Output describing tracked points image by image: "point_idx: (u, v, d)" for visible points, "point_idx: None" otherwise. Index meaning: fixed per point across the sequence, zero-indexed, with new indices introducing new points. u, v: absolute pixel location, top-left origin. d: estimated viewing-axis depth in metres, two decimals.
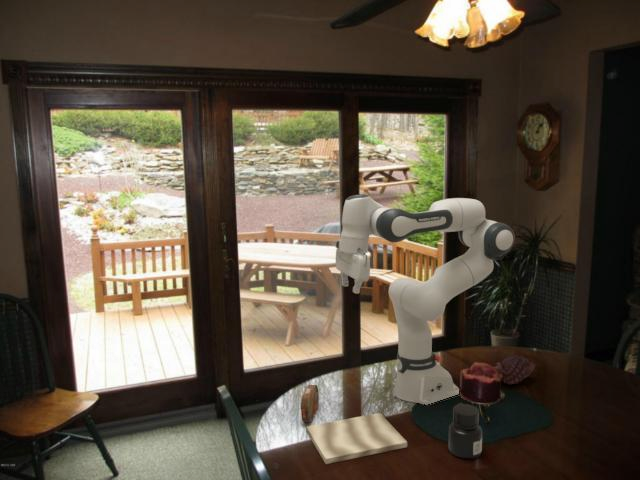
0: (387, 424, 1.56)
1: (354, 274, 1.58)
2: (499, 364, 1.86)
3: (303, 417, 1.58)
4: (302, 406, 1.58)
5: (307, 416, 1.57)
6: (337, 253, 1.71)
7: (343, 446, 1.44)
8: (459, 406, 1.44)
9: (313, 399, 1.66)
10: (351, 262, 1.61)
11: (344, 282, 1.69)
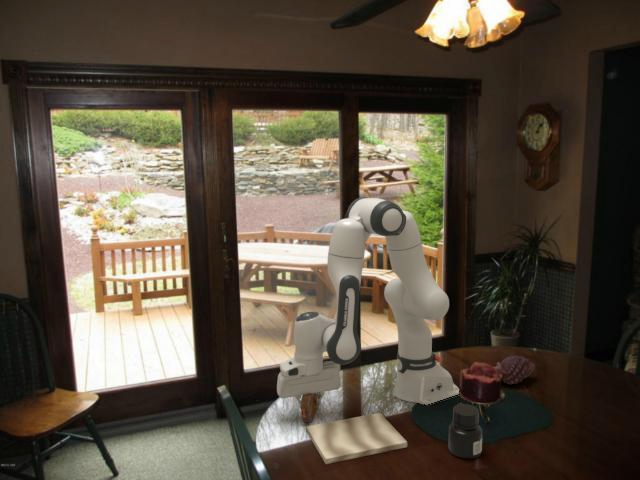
0: (387, 424, 1.56)
1: (330, 387, 1.64)
2: (499, 364, 1.85)
3: (303, 417, 1.58)
4: (302, 406, 1.58)
5: (307, 416, 1.57)
6: (286, 382, 1.59)
7: (343, 446, 1.44)
8: (459, 406, 1.44)
9: (313, 399, 1.66)
10: (319, 378, 1.63)
11: None
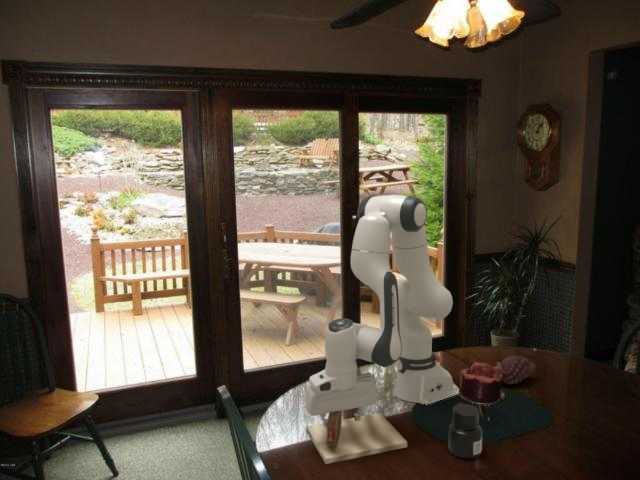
0: (387, 424, 1.56)
1: (365, 402, 1.48)
2: (499, 364, 1.86)
3: (329, 440, 1.41)
4: (329, 428, 1.41)
5: (334, 439, 1.41)
6: (317, 397, 1.43)
7: (343, 446, 1.44)
8: (459, 406, 1.44)
9: (338, 420, 1.49)
10: (352, 393, 1.47)
11: None
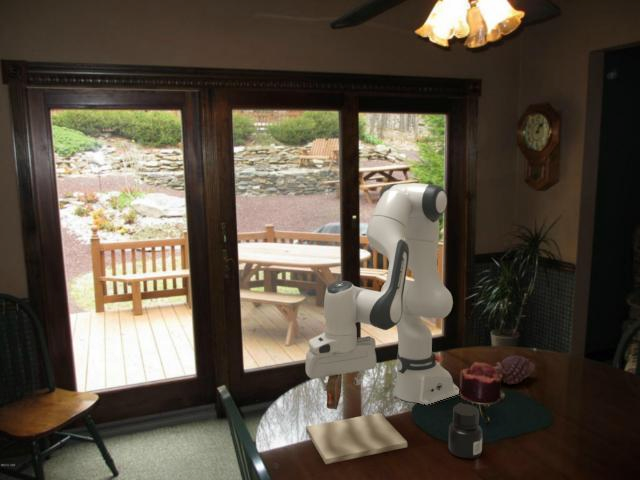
0: (387, 424, 1.56)
1: (365, 366, 1.46)
2: (499, 364, 1.86)
3: (329, 403, 1.39)
4: (328, 390, 1.39)
5: (333, 402, 1.39)
6: (316, 360, 1.41)
7: (343, 446, 1.44)
8: (459, 406, 1.44)
9: (338, 384, 1.48)
10: (352, 356, 1.45)
11: None
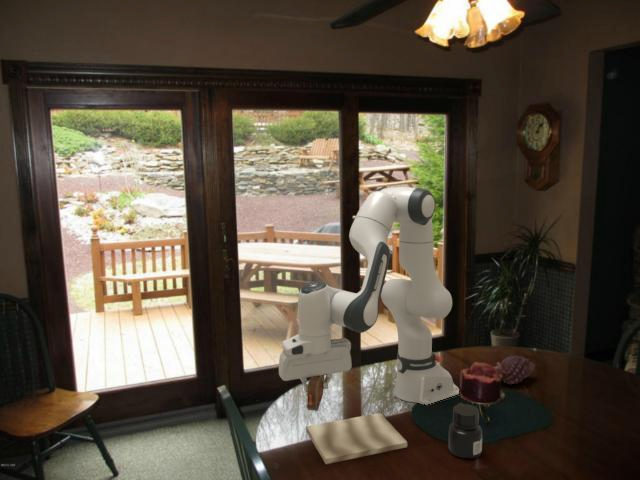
0: (387, 424, 1.56)
1: (339, 368, 1.44)
2: (499, 364, 1.86)
3: (309, 404, 1.37)
4: (309, 391, 1.38)
5: (314, 403, 1.37)
6: (289, 361, 1.39)
7: (343, 446, 1.44)
8: (459, 406, 1.44)
9: (319, 385, 1.46)
10: (326, 358, 1.43)
11: None
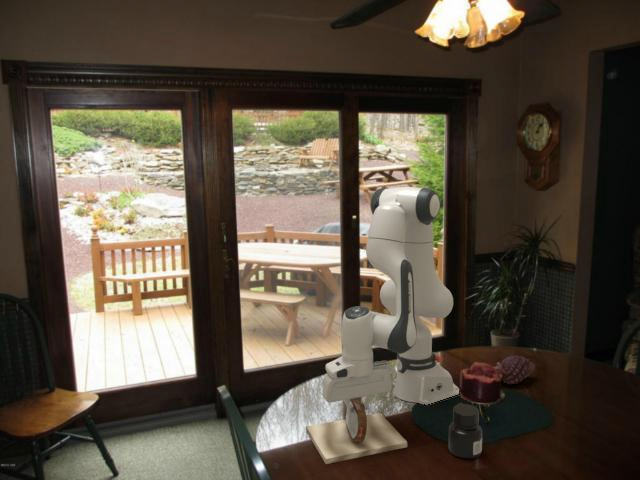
0: (387, 424, 1.56)
1: (380, 389, 1.49)
2: (499, 364, 1.85)
3: (359, 436, 1.43)
4: (360, 424, 1.43)
5: (364, 435, 1.43)
6: (333, 384, 1.44)
7: (343, 446, 1.44)
8: (459, 406, 1.44)
9: None
10: (368, 380, 1.48)
11: None
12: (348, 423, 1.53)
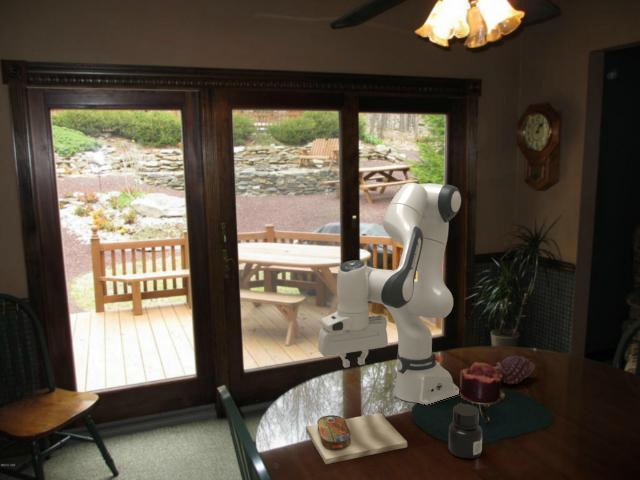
0: (387, 424, 1.56)
1: (376, 344, 1.49)
2: (499, 364, 1.85)
3: (342, 446, 1.43)
4: (329, 447, 1.43)
5: (340, 442, 1.42)
6: (329, 337, 1.43)
7: None
8: (459, 406, 1.44)
9: (331, 426, 1.51)
10: (364, 335, 1.48)
11: None
12: None
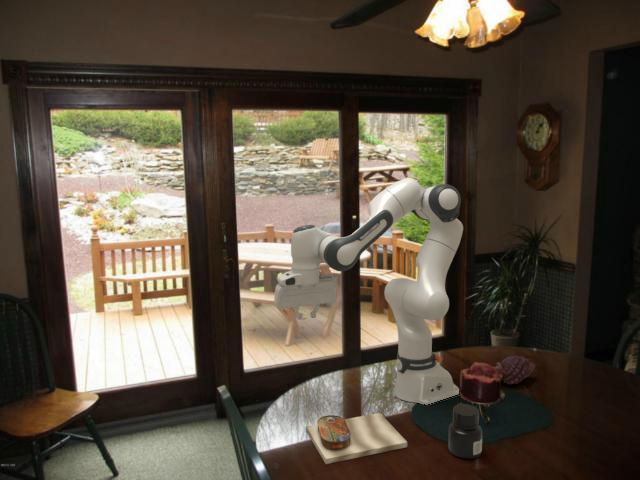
0: (387, 424, 1.56)
1: (326, 299, 1.68)
2: (499, 364, 1.86)
3: (342, 446, 1.43)
4: (329, 447, 1.43)
5: (340, 442, 1.42)
6: (283, 291, 1.63)
7: None
8: (459, 406, 1.44)
9: (331, 426, 1.51)
10: (315, 290, 1.67)
11: None
12: None
